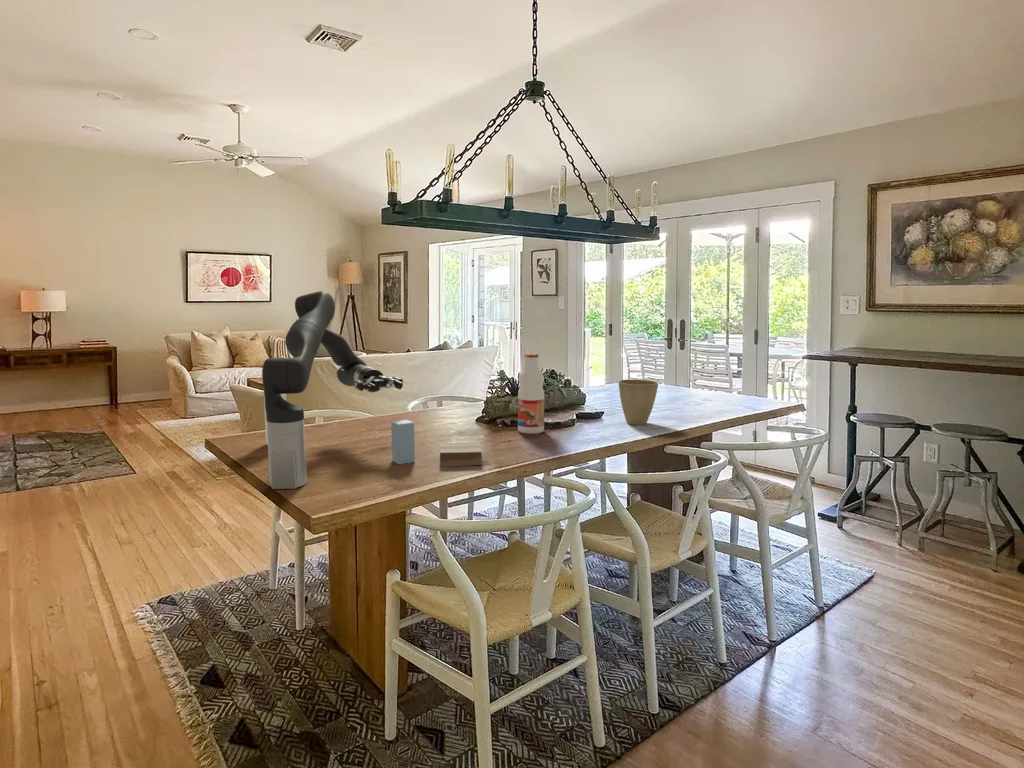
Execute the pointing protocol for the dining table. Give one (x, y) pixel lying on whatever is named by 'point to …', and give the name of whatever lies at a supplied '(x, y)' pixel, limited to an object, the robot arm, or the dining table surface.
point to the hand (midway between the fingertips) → (387, 387)
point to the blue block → (403, 441)
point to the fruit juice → (531, 397)
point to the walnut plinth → (460, 454)
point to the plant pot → (637, 399)
